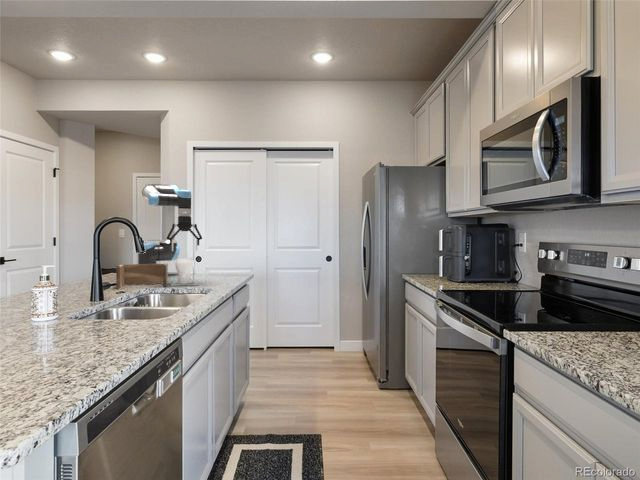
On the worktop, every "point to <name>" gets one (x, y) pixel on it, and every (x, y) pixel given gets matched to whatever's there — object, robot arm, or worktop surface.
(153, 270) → the crate
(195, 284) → the mat
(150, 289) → the worktop surface
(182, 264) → the cup
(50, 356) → the worktop surface
